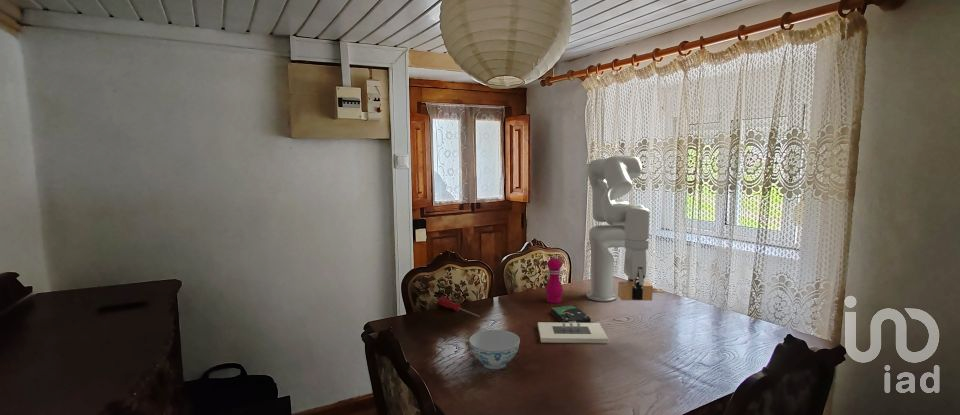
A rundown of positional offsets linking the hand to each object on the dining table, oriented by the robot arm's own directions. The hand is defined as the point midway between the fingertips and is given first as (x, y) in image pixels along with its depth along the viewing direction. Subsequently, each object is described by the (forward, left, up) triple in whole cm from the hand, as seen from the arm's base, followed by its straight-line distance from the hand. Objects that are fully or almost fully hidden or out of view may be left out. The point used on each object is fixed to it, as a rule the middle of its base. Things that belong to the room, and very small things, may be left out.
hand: (634, 296), depth 151 cm
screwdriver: (-22, -62, -14) cm, 68 cm away
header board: (-1, -21, -14) cm, 25 cm away
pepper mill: (-37, -23, -14) cm, 46 cm away
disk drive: (-17, -19, -15) cm, 29 cm away
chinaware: (+22, -47, -14) cm, 54 cm away
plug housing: (0, +2, -1) cm, 2 cm away
